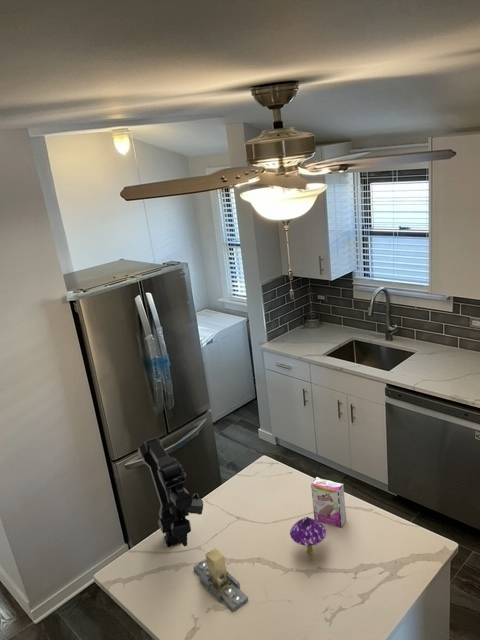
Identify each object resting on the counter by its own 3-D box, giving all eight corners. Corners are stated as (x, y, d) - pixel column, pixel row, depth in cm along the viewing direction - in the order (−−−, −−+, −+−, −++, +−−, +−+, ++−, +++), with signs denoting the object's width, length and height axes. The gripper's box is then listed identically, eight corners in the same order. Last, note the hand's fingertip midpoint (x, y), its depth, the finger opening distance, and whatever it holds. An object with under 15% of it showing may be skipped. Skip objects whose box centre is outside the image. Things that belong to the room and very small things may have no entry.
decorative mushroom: (311, 535, 190) (307, 500, 185) (335, 553, 180) (332, 517, 176) (285, 552, 183) (280, 517, 179) (309, 572, 173) (305, 535, 169)
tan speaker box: (210, 584, 174) (205, 554, 170) (220, 578, 176) (215, 547, 172) (219, 593, 170) (213, 562, 166) (229, 586, 172) (224, 555, 168)
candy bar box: (313, 520, 197) (310, 483, 193) (319, 512, 201) (315, 476, 196) (341, 528, 191) (338, 490, 186) (346, 520, 195) (343, 483, 190)
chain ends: (191, 572, 180) (190, 566, 179) (210, 560, 184) (209, 554, 184) (230, 613, 162) (229, 607, 161) (251, 599, 166) (250, 592, 165)
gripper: (201, 505, 168) (210, 548, 171) (197, 478, 186) (205, 517, 189) (167, 513, 166) (177, 556, 169) (166, 486, 185) (175, 525, 188)
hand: (184, 538), depth 179 cm, fingers open, 9 cm apart
